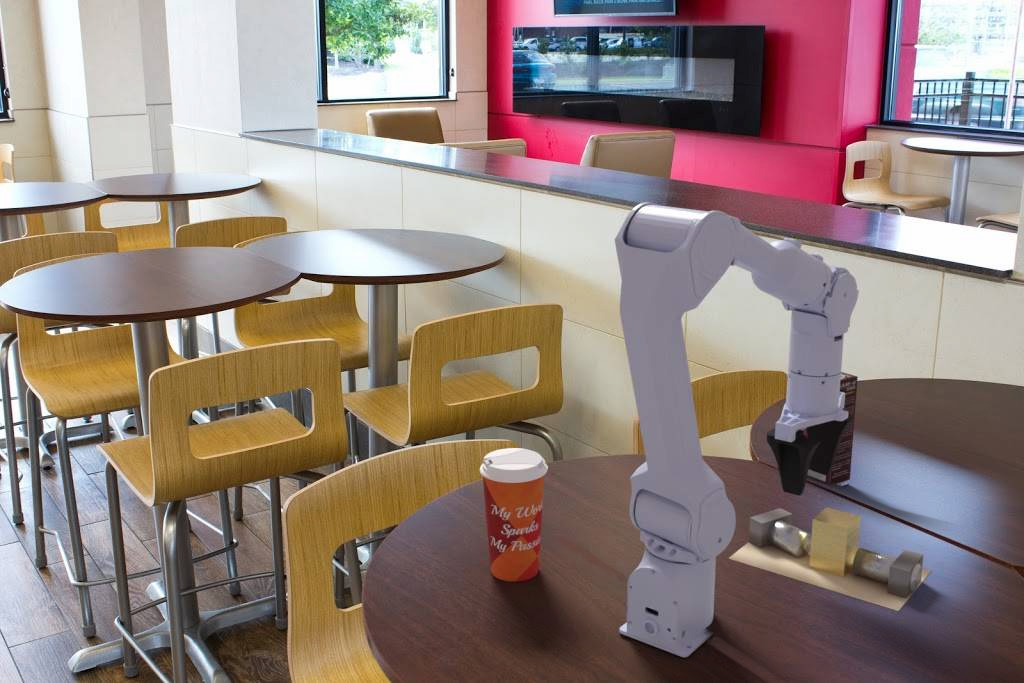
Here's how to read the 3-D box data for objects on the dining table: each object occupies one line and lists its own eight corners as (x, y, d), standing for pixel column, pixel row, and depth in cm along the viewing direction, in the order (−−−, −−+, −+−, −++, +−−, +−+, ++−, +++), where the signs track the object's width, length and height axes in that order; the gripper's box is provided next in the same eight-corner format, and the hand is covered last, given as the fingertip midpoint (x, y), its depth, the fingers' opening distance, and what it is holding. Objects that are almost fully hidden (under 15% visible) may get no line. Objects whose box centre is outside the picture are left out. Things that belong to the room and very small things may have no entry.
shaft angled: (812, 554, 119) (813, 530, 119) (794, 560, 118) (795, 536, 117) (771, 533, 125) (772, 510, 124) (753, 539, 123) (754, 516, 123)
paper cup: (491, 590, 114) (488, 474, 111) (475, 560, 122) (472, 450, 118) (557, 581, 116) (557, 466, 113) (537, 551, 124) (537, 443, 120)
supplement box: (851, 484, 142) (860, 375, 138) (828, 492, 139) (836, 382, 135) (802, 465, 149) (809, 361, 145) (780, 473, 146) (786, 367, 142)
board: (897, 621, 107) (901, 583, 106) (727, 567, 119) (729, 533, 118) (930, 580, 115) (933, 545, 114) (768, 534, 127) (770, 501, 126)
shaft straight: (919, 584, 112) (922, 560, 111) (910, 595, 110) (913, 570, 109) (861, 567, 116) (863, 543, 115) (851, 577, 114) (853, 553, 113)
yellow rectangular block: (843, 577, 114) (847, 528, 112) (809, 567, 116) (812, 519, 115) (856, 564, 117) (860, 516, 115) (823, 554, 119) (826, 507, 118)
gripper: (822, 392, 107) (813, 511, 110) (873, 361, 117) (864, 471, 121) (760, 380, 111) (753, 495, 114) (815, 351, 122) (808, 457, 125)
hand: (806, 482), depth 118 cm, fingers open, 7 cm apart
